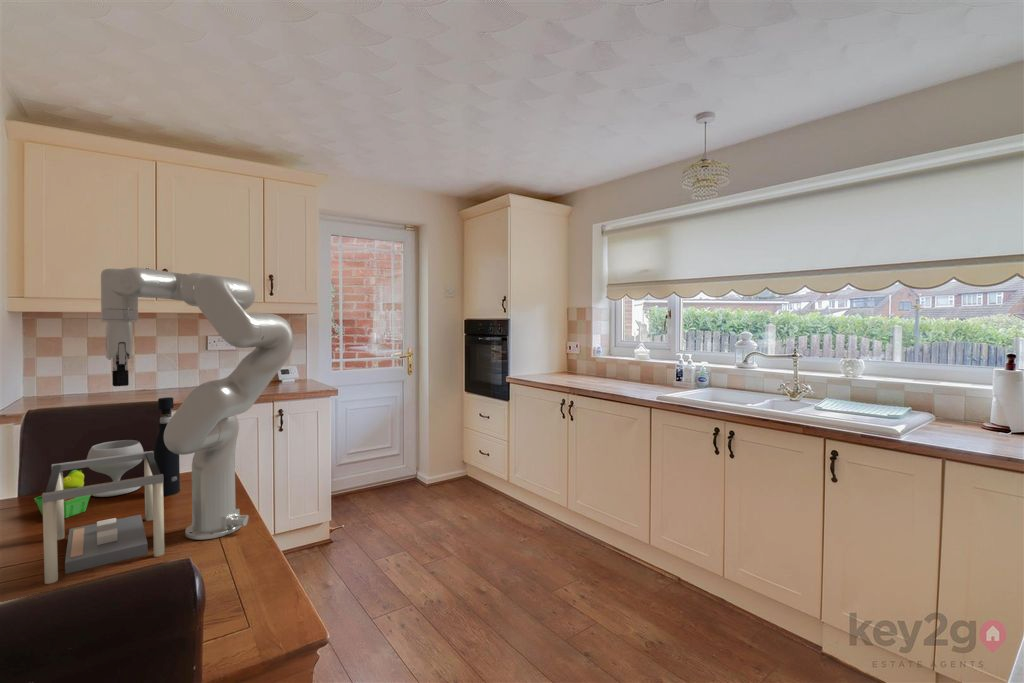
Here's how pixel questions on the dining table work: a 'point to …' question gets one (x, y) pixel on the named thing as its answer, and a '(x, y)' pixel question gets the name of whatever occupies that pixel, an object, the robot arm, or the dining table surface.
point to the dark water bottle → (166, 452)
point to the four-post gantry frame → (84, 538)
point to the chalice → (117, 468)
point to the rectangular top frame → (104, 487)
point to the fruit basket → (71, 504)
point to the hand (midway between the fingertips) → (120, 385)
